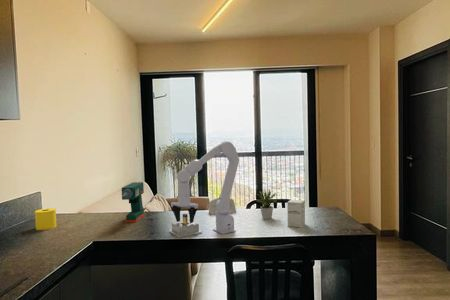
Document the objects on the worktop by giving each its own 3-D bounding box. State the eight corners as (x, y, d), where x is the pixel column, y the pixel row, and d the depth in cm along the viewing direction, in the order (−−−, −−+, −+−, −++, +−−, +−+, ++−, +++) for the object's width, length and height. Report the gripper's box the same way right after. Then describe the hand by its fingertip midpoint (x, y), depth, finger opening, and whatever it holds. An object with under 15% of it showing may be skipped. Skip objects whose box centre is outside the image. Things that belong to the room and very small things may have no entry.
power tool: (130, 228, 182) (129, 190, 181) (117, 228, 182) (115, 190, 181) (145, 214, 213) (144, 182, 213) (134, 214, 214) (133, 182, 213)
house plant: (280, 221, 185) (279, 191, 185) (254, 221, 187) (253, 191, 187) (280, 215, 199) (279, 187, 199) (256, 215, 201) (255, 187, 201)
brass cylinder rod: (188, 230, 171) (188, 213, 171) (186, 231, 169) (186, 215, 169) (184, 229, 172) (184, 213, 172) (182, 230, 170) (181, 214, 170)
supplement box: (287, 226, 176) (286, 201, 175) (291, 223, 183) (291, 199, 182) (301, 227, 173) (301, 202, 172) (305, 224, 179) (305, 199, 179)
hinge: (209, 214, 207) (208, 198, 210) (208, 215, 212) (207, 199, 215) (237, 212, 210) (235, 196, 213) (235, 213, 215) (234, 197, 218)
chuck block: (201, 233, 168) (201, 224, 168) (178, 237, 162) (178, 228, 162) (191, 227, 179) (191, 219, 179) (169, 231, 173) (169, 222, 173)
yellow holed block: (47, 230, 183) (46, 212, 183) (31, 229, 185) (30, 212, 185) (60, 225, 193) (59, 208, 193) (44, 224, 195) (43, 208, 195)
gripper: (200, 193, 170) (201, 221, 171) (175, 192, 176) (176, 219, 177) (193, 196, 164) (194, 224, 164) (167, 194, 170) (169, 222, 171)
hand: (184, 222), depth 170 cm, fingers open, 7 cm apart
